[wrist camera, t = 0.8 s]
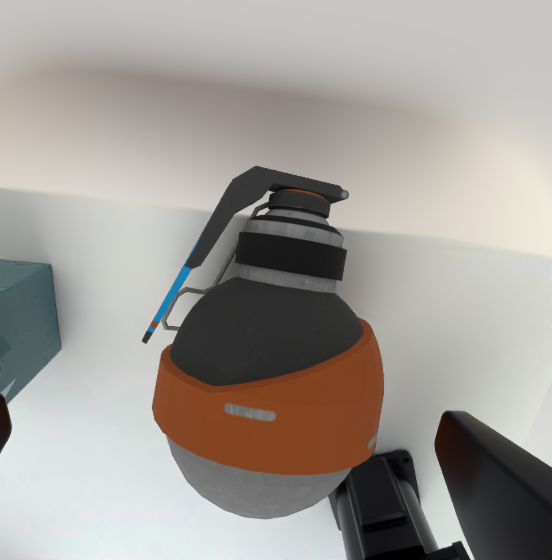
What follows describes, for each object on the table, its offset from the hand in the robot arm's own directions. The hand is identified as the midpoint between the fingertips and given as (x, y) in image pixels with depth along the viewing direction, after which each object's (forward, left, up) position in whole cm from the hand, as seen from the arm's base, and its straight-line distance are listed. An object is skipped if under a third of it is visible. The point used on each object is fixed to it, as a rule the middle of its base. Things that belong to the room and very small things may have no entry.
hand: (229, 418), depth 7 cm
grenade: (-10, +3, -6) cm, 12 cm away
